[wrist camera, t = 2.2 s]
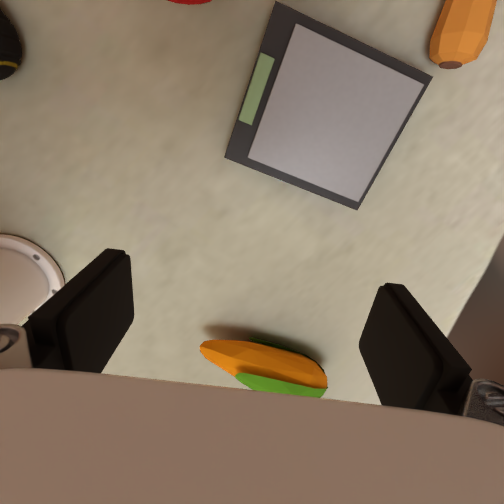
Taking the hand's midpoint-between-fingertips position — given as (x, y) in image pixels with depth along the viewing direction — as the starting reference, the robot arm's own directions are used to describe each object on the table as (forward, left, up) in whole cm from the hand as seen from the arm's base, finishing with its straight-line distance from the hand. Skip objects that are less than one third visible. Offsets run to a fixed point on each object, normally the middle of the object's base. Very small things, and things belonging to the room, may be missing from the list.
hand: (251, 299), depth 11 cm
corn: (+11, -25, -26) cm, 38 cm away
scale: (+4, +8, -26) cm, 27 cm away
